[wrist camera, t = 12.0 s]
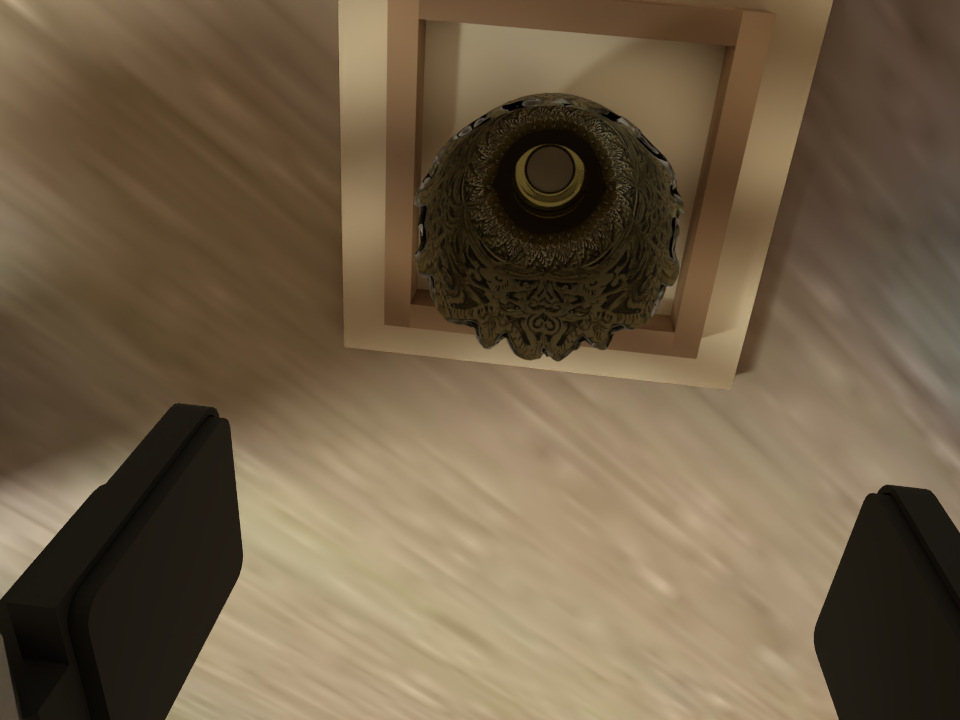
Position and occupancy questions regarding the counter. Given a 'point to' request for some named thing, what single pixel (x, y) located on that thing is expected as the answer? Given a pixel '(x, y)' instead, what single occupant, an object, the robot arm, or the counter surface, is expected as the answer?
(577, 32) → the square wooden tray
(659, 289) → the ornate lamp shade
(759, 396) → the counter surface
